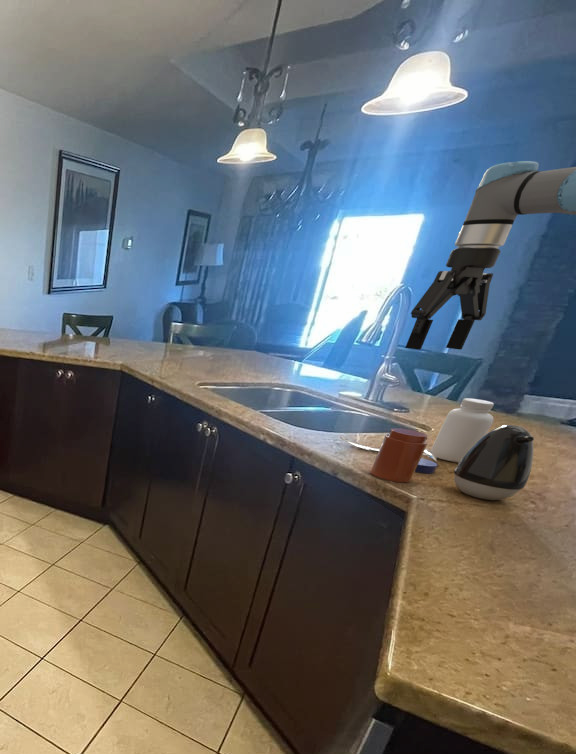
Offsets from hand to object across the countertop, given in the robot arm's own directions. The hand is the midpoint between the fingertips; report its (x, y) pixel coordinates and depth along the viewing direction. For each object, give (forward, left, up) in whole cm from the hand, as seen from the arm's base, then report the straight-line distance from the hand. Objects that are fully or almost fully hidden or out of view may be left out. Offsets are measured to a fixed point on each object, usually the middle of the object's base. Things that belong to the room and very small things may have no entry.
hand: (433, 348), depth 113 cm
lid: (-6, +5, -25) cm, 26 cm away
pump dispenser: (-18, +15, -27) cm, 36 cm away
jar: (-4, +18, -27) cm, 32 cm away
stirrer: (+1, -3, -27) cm, 27 cm away
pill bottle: (-10, -13, -27) cm, 31 cm away
